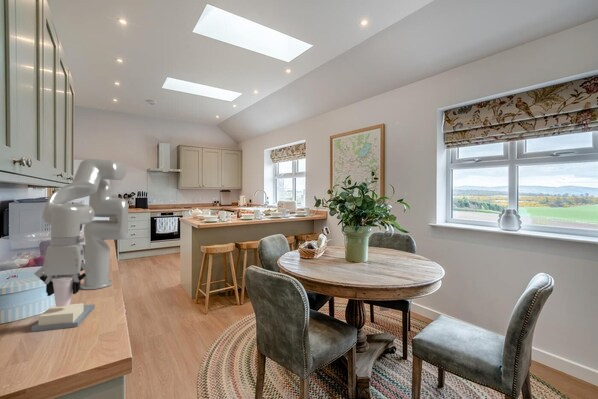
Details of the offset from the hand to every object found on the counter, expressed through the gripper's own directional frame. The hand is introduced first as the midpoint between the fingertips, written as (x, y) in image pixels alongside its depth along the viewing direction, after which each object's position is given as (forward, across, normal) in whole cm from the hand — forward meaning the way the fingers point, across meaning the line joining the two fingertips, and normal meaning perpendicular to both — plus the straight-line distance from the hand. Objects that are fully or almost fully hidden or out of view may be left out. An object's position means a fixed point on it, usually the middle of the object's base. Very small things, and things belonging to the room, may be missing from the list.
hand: (63, 293), depth 93 cm
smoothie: (+4, 0, 0) cm, 4 cm away
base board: (+10, 0, -3) cm, 10 cm away
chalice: (+10, +10, -56) cm, 58 cm away
